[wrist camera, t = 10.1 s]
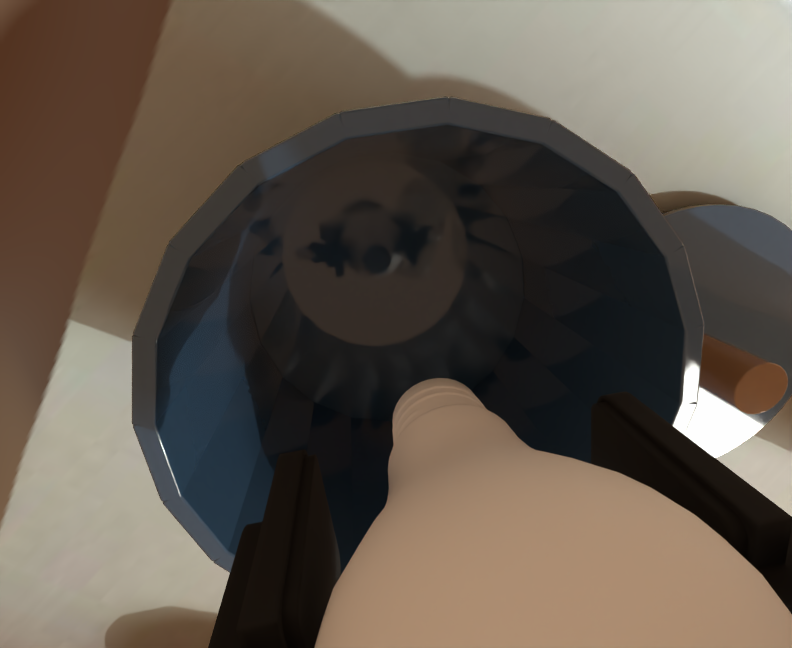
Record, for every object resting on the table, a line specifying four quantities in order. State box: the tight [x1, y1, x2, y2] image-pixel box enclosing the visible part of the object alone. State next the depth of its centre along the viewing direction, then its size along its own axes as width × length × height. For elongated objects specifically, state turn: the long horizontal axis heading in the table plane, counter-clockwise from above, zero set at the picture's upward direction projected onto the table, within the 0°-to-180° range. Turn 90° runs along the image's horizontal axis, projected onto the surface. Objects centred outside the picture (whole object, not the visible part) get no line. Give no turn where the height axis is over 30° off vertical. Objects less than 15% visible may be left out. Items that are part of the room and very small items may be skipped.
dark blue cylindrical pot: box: [132, 96, 704, 574], centre depth 19 cm, size 16×16×13 cm
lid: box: [663, 204, 792, 458], centre depth 25 cm, size 17×17×6 cm
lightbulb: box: [314, 378, 792, 648], centre depth 8 cm, size 6×6×11 cm
